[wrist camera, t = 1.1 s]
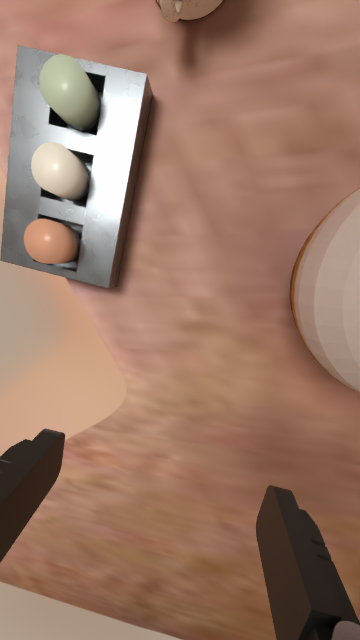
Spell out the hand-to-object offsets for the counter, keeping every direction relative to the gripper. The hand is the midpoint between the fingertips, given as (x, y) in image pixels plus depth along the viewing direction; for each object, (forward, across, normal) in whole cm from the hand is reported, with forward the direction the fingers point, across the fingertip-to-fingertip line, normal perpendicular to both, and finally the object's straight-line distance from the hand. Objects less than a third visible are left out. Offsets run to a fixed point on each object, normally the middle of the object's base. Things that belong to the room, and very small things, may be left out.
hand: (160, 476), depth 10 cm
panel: (+23, +16, -14) cm, 32 cm away
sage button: (+21, +16, -21) cm, 34 cm away
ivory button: (+21, +16, -14) cm, 30 cm away
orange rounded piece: (+21, +17, -7) cm, 28 cm away
